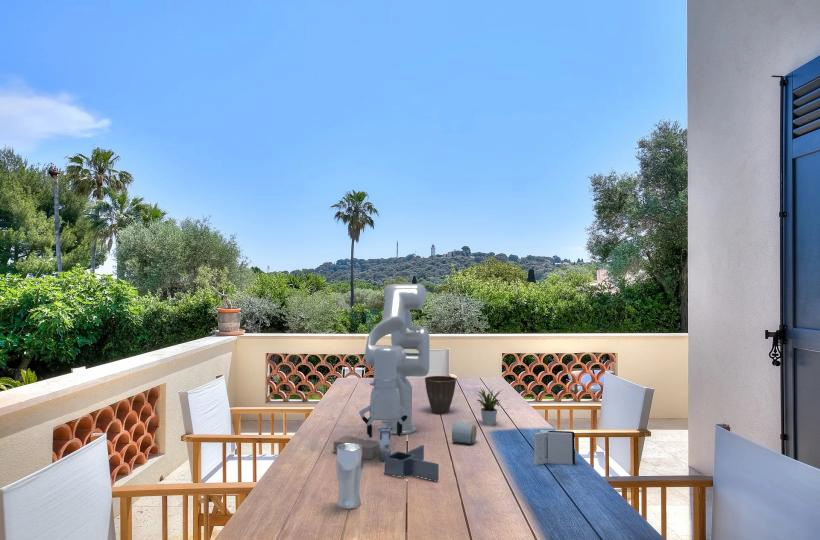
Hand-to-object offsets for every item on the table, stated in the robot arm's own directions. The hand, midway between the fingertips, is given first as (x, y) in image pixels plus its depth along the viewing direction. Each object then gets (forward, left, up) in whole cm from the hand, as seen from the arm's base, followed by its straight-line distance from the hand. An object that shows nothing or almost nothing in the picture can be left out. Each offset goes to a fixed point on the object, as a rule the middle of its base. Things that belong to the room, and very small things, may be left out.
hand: (384, 436), depth 165 cm
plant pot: (-18, +71, -8) cm, 73 cm away
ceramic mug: (+13, +34, -8) cm, 38 cm away
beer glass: (+13, -33, -8) cm, 37 cm away
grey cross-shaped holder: (+16, -1, -8) cm, 18 cm away
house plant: (+9, +63, -8) cm, 64 cm away
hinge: (+48, +29, -8) cm, 57 cm away
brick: (-12, +2, -9) cm, 15 cm away
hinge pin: (0, +1, -8) cm, 8 cm away
